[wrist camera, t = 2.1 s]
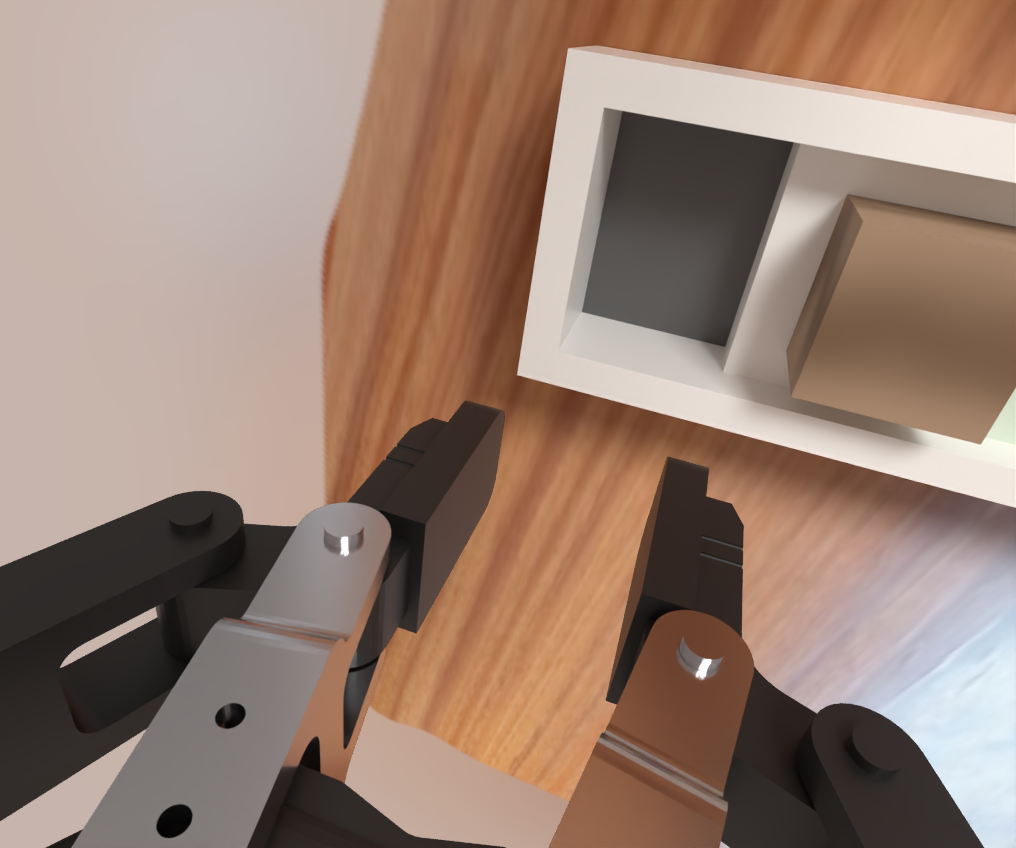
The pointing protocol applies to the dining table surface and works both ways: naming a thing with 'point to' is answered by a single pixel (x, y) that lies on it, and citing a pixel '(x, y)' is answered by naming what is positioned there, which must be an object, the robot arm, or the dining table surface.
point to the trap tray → (741, 245)
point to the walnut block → (911, 320)
